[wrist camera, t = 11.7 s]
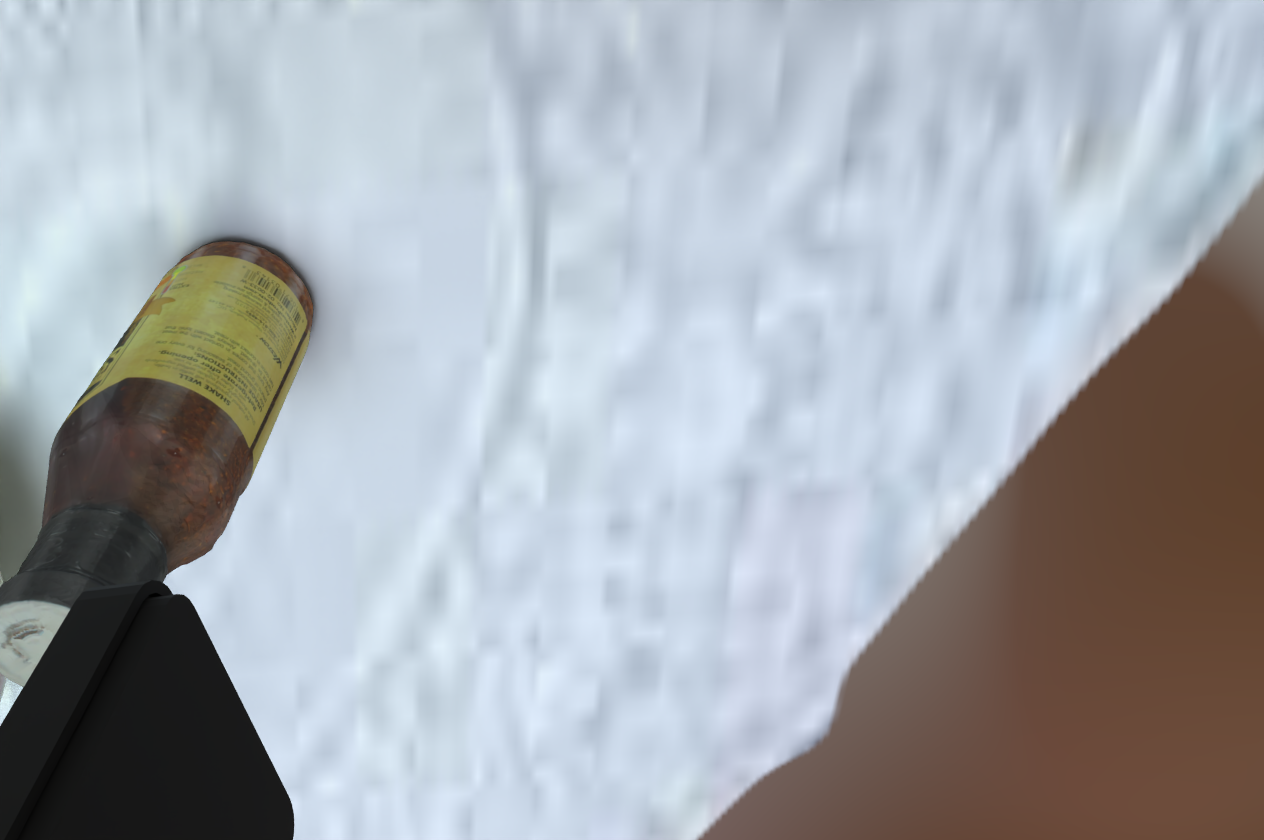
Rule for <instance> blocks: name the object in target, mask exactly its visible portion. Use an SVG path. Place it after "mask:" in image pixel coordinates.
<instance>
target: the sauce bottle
mask: <svg viewBox="0 0 1264 840" xmlns="http://www.w3.org/2000/svg"><path fill="white" fill-rule="evenodd" d="M312 317H313V304H312V301H311V298H310V294H309V292H308V290H307V288H306V287H305V285H304V284H303V281H302V280H301V279H300V278H299V277H298V276H297V275H296V274H295V272H294V271H293V269H292V268H291V267H290V266H289V265H288V264H287V263H286V262H284V261H283V260H282V259H281V258H279V257H278V256H277V255H274V254H273V253H270V252H269V251H268V250H266V249H264V248H262V247H258V246H253V245H251V244H247V243H245V242H240V243H239V242H231V241H224V242H214V243H211V244H207V245H204V246H202V247H200V248H198V249H197V250H195V251H194V252H192V253H191V254H189V255H187V256H185V257H184V258H182V259H181V261H180V262H179V263H178V264H177V265H176V266H175V267H174V268H172V269H171V270H170V271H169V272H168V273H167V274H166V275H165V276H164V277H163V279H162V280H161V282H160V283H159V285H158V286H157V287H156V289H155V290H154V292H153V293H152V295H151V296H150V298H149V299H148V301H147V302H146V303H145V305H144V306H143V308H142V309H141V311H140V312H139V314H138V315H137V317H136V318H135V319H134V321H133V322H132V324H131V325H130V327H129V328H128V330H127V331H126V332H125V333H124V335H123V337H122V338H121V339H120V341H119V342H118V344H117V345H116V347H115V348H114V350H113V351H112V353H111V354H110V356H109V357H108V358H107V360H106V361H105V362H104V364H103V366H102V367H101V368H100V370H99V371H98V373H97V374H96V376H95V377H94V379H93V380H92V382H91V384H90V385H89V387H88V388H87V390H86V391H85V393H84V394H83V395H82V396H81V397H80V399H79V400H78V402H77V403H76V405H75V407H74V408H73V409H72V411H71V413H70V414H69V416H68V417H67V418H66V420H65V422H64V423H63V425H62V426H61V428H60V429H59V431H58V433H57V435H56V437H55V439H54V442H53V445H52V448H51V454H50V460H49V471H48V479H47V487H46V495H45V504H44V512H43V521H42V529H41V531H40V533H39V535H38V540H37V542H36V544H35V545H34V547H33V548H32V550H31V551H30V553H29V554H28V556H27V558H26V560H25V561H24V562H23V564H22V566H21V568H20V570H19V572H18V573H17V575H15V576H14V577H12V578H11V579H10V580H9V581H7V582H5V583H4V584H2V585H1V587H0V673H1V674H2V675H4V676H5V677H6V678H8V679H9V680H11V681H13V682H15V683H17V684H18V685H20V686H22V687H24V686H25V684H26V682H27V681H28V679H29V677H30V676H31V674H32V672H33V671H34V669H35V667H36V666H37V664H38V662H39V661H40V659H41V657H42V656H43V654H44V652H45V651H46V649H47V647H48V646H49V644H50V642H51V641H52V639H53V637H54V636H55V634H56V632H57V631H58V629H59V627H60V626H61V624H62V622H63V621H64V619H65V617H66V616H67V614H68V612H69V611H70V609H71V607H72V606H73V604H74V602H75V601H76V599H77V598H78V597H79V596H80V595H81V594H82V592H84V591H86V590H88V589H90V588H93V587H101V586H108V585H116V584H124V583H132V582H140V581H148V580H156V581H161V582H162V583H163V581H164V579H165V578H166V575H167V574H169V573H170V572H171V571H173V570H174V569H176V568H178V567H179V566H181V565H185V564H188V563H190V562H192V561H194V560H196V559H198V558H199V557H201V556H203V555H205V554H206V553H207V552H209V551H210V550H211V549H212V548H213V546H214V544H215V542H216V541H217V539H218V538H219V537H220V536H221V535H222V533H223V532H224V530H225V528H226V526H227V523H228V522H229V520H230V517H231V515H232V512H233V511H234V507H235V505H236V503H237V501H238V498H239V496H240V495H241V494H242V493H243V492H244V490H245V489H246V488H247V486H248V484H249V482H250V480H251V478H252V475H253V473H254V470H255V468H256V466H257V463H258V461H259V459H260V457H261V454H262V452H263V450H264V447H265V445H266V443H267V440H268V438H269V436H270V434H271V431H272V429H273V427H274V424H275V422H276V420H277V417H278V415H279V413H280V410H281V408H282V406H283V403H284V401H285V399H286V396H287V394H288V392H289V390H290V387H291V385H292V383H293V380H294V378H295V376H296V374H297V371H298V369H299V367H300V364H301V362H302V360H303V358H304V355H305V353H306V350H307V347H308V344H309V337H310V332H311V326H312Z"/></svg>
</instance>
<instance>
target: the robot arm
mask: <svg viewBox="0 0 1264 840" xmlns="http://www.w3.org/2000/svg"><path fill="white" fill-rule="evenodd" d="M293 836H294V813H293V808H292V804H291V801H290V798H289V796H288V794H287V792H286V790H285V788H284V786H283V784H282V782H281V780H280V778H279V776H278V774H277V772H276V770H275V768H274V766H273V764H272V762H271V760H270V758H269V756H268V754H267V752H266V750H265V748H264V746H263V744H262V742H261V740H260V738H259V736H258V734H257V732H256V730H255V728H254V726H253V724H252V722H251V720H250V718H249V716H248V714H247V712H246V710H245V708H244V706H243V704H242V702H241V700H240V698H239V696H238V694H237V692H236V690H235V688H234V686H233V684H232V682H231V680H230V678H229V676H228V674H227V672H226V670H225V668H224V666H223V664H222V662H221V660H220V658H219V656H218V654H217V652H216V650H215V648H214V645H213V643H212V641H211V639H210V637H209V635H208V633H207V631H206V629H205V627H204V625H203V623H202V621H201V619H200V617H199V615H198V613H197V611H196V609H195V607H194V606H193V604H192V603H191V601H190V600H189V599H188V598H187V597H186V596H184V595H180V594H176V595H173V594H172V592H171V591H170V589H169V588H168V586H166V585H165V584H163V583H162V582H161V581H156V580H148V581H140V582H132V583H124V584H116V585H108V586H101V587H93V588H90V589H88V590H86V591H84V592H82V594H81V595H80V596H79V597H78V598H77V599H76V601H75V602H74V604H73V606H72V607H71V609H70V611H69V612H68V614H67V616H66V617H65V619H64V621H63V622H62V624H61V626H60V627H59V629H58V631H57V632H56V634H55V636H54V637H53V639H52V641H51V642H50V644H49V646H48V647H47V649H46V651H45V652H44V654H43V656H42V657H41V659H40V661H39V662H38V664H37V666H36V667H35V669H34V671H33V672H32V674H31V676H30V677H29V679H28V681H27V682H26V684H25V686H24V687H23V689H22V691H21V692H20V694H19V696H18V697H17V699H16V701H15V702H14V704H13V706H12V707H11V709H10V711H9V713H8V714H7V716H6V718H5V719H4V721H3V723H2V724H1V726H0V840H293Z"/></svg>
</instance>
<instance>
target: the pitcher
mask: <svg viewBox="0 0 1264 840" xmlns="http://www.w3.org/2000/svg"><path fill="white" fill-rule="evenodd" d="M2 584H4V583H3V579H2V576H1V573H0V587H1V585H2ZM5 682H6V677H5V676H4V675H2V674H1V673H0V701H1V697H2V694H3V690H4V686H5Z"/></svg>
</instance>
